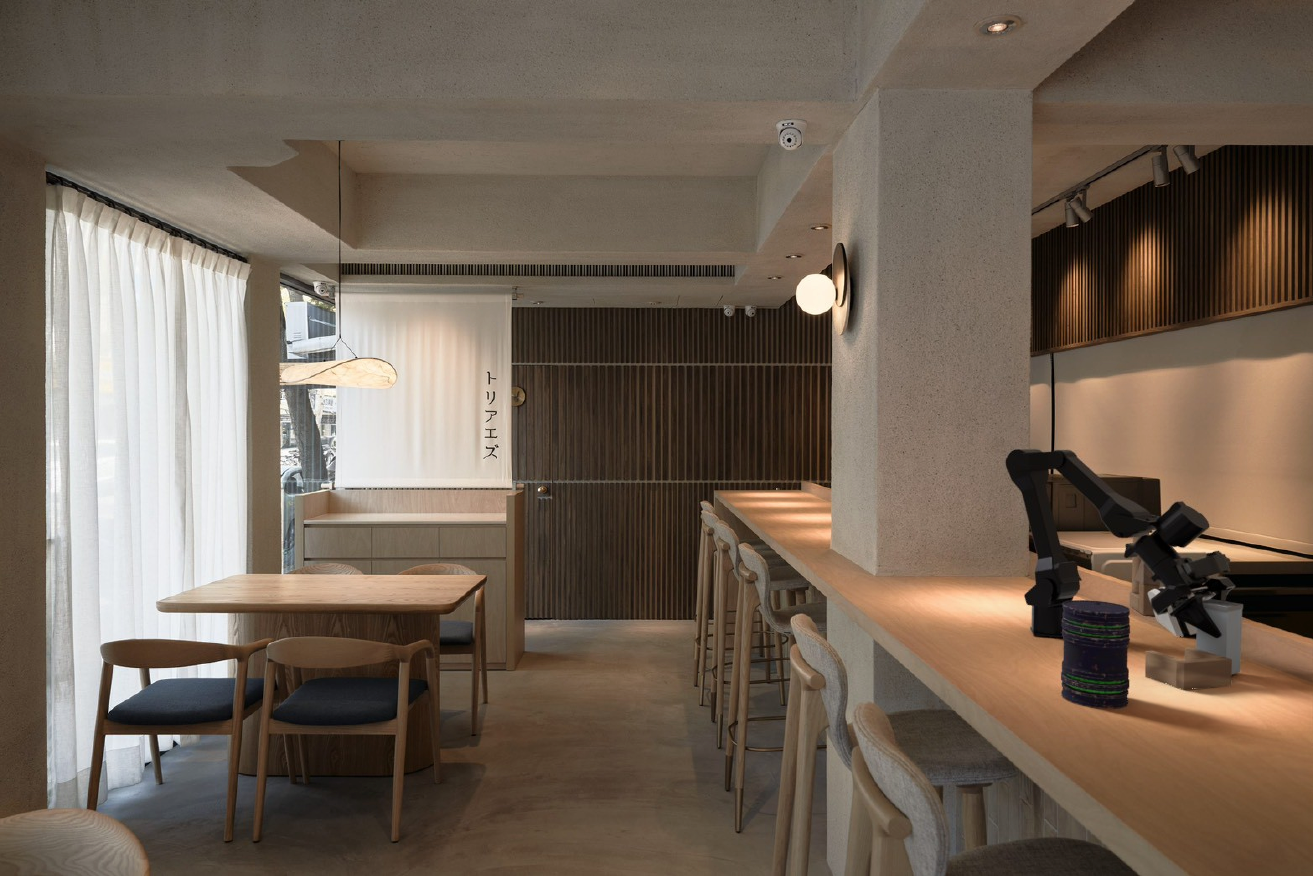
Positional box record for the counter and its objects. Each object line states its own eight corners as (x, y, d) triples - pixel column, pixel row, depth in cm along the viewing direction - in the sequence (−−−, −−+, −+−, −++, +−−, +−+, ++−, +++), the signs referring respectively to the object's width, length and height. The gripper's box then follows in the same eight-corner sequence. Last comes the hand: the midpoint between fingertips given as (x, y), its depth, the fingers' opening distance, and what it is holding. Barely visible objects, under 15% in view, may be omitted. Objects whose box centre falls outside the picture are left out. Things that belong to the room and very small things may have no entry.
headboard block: (1145, 676, 154) (1145, 651, 154) (1191, 672, 157) (1191, 647, 157) (1183, 690, 147) (1184, 663, 147) (1231, 685, 149) (1231, 659, 149)
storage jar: (1126, 713, 135) (1128, 615, 135) (1056, 702, 140) (1057, 608, 140) (1131, 696, 143) (1132, 604, 143) (1065, 686, 149) (1066, 597, 148)
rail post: (1194, 668, 158) (1196, 601, 157) (1210, 664, 160) (1211, 599, 160) (1226, 676, 153) (1227, 607, 153) (1241, 672, 156) (1243, 604, 155)
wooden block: (1142, 615, 204) (1144, 537, 203) (1129, 606, 214) (1130, 532, 214) (1160, 616, 203) (1161, 538, 203) (1145, 607, 213) (1146, 532, 213)
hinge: (1204, 639, 182) (1187, 592, 183) (1180, 645, 183) (1162, 599, 184) (1181, 621, 198) (1165, 578, 199) (1159, 627, 199) (1143, 584, 200)
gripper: (1169, 539, 155) (1236, 615, 145) (1224, 533, 164) (1290, 603, 155) (1124, 577, 161) (1185, 651, 152) (1180, 569, 171) (1240, 638, 162)
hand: (1227, 635), depth 155 cm, fingers closed on rail post, 5 cm apart
